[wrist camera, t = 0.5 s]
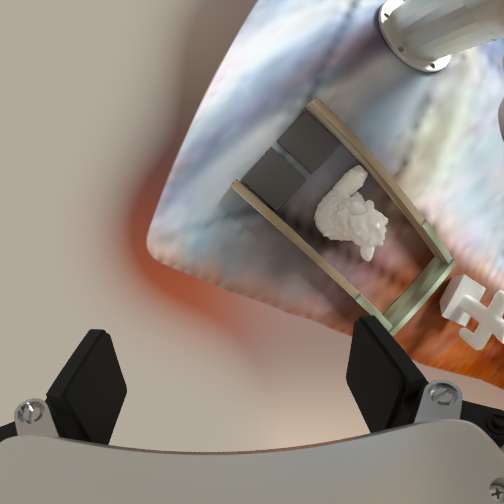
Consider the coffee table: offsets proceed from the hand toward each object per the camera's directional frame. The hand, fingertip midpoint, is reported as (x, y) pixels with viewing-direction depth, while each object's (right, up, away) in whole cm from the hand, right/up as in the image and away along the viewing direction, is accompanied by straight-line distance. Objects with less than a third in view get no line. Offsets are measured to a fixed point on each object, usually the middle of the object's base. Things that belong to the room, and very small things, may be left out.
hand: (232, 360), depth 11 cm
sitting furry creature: (+12, +9, +26) cm, 31 cm away
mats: (+5, +15, +24) cm, 29 cm away
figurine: (+34, -3, +32) cm, 47 cm away
